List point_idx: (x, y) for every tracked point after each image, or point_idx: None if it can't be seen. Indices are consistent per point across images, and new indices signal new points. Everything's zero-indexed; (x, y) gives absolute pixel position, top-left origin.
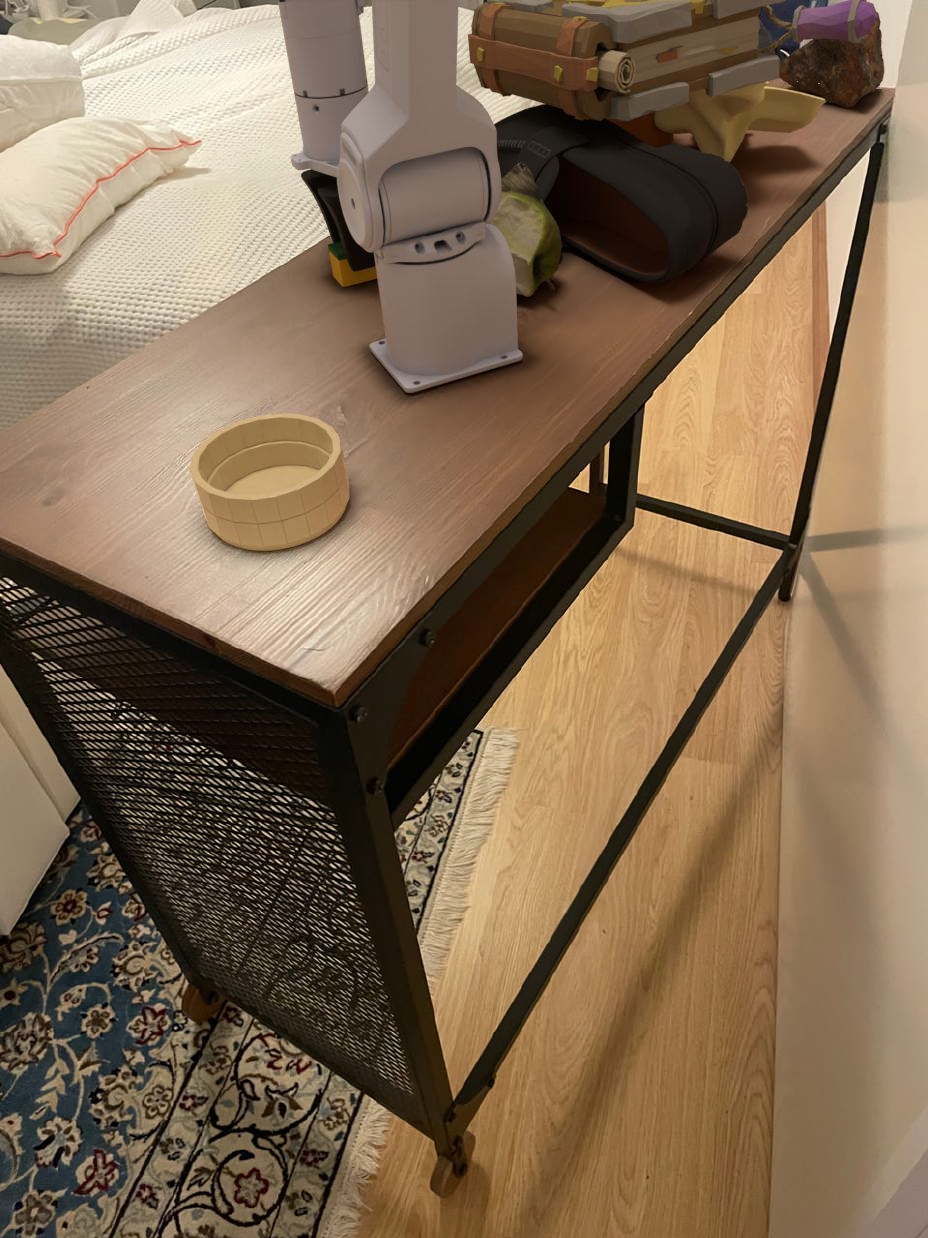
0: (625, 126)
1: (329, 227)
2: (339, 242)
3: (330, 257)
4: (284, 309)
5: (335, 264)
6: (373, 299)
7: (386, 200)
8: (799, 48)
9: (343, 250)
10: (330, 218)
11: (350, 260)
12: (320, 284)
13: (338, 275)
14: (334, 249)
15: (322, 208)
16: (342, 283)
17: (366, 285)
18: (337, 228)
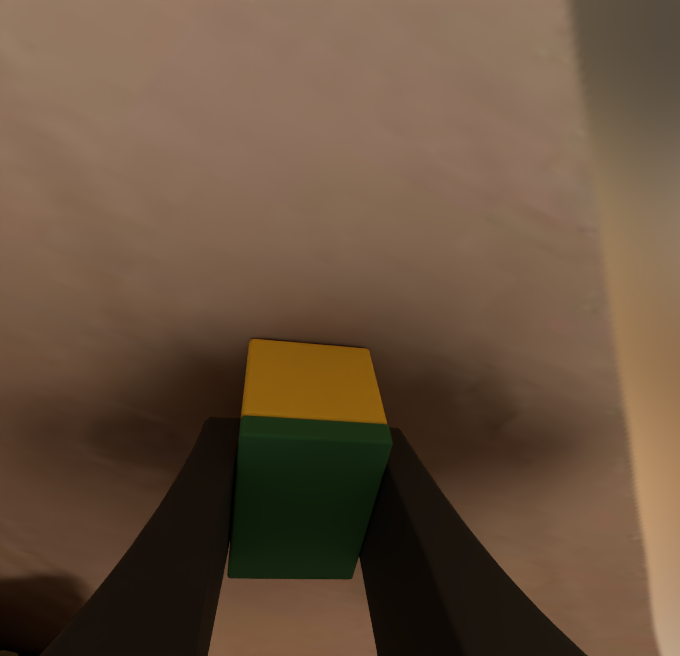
0: None
1: (412, 524)
2: (370, 482)
3: (373, 400)
4: (203, 15)
5: (304, 389)
6: (79, 379)
7: None
8: None
9: (270, 467)
10: (421, 576)
11: (193, 449)
12: (347, 283)
13: (287, 361)
14: (313, 444)
15: (450, 624)
16: (250, 347)
17: (215, 403)
18: (205, 574)
